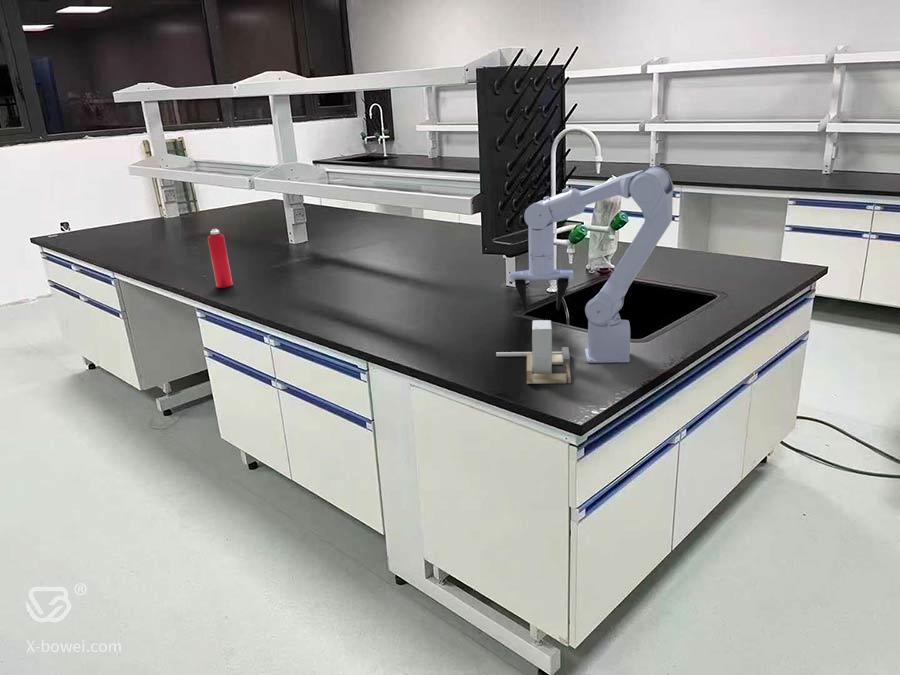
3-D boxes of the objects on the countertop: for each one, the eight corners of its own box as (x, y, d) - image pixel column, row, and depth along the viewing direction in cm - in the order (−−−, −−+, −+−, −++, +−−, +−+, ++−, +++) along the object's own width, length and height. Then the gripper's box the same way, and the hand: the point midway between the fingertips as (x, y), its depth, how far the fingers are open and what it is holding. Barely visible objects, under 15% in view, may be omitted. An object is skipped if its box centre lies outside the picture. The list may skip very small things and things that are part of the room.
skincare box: (552, 381, 146) (552, 329, 142) (532, 381, 147) (531, 329, 142) (551, 369, 152) (551, 319, 148) (532, 369, 152) (531, 319, 148)
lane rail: (568, 354, 159) (568, 346, 159) (569, 366, 153) (569, 358, 152) (496, 355, 161) (496, 347, 161) (494, 367, 155) (494, 359, 154)
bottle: (227, 287, 232) (217, 230, 225) (213, 287, 233) (202, 230, 226) (235, 283, 237) (225, 227, 230) (221, 283, 238) (211, 227, 231)
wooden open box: (567, 356, 158) (567, 333, 156) (570, 383, 144) (570, 359, 142) (527, 356, 159) (526, 334, 157) (526, 383, 145) (526, 359, 143)
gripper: (571, 248, 159) (571, 303, 164) (510, 250, 160) (511, 304, 165) (573, 256, 152) (573, 312, 157) (509, 257, 154) (511, 314, 159)
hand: (541, 309), depth 161 cm, fingers open, 7 cm apart
